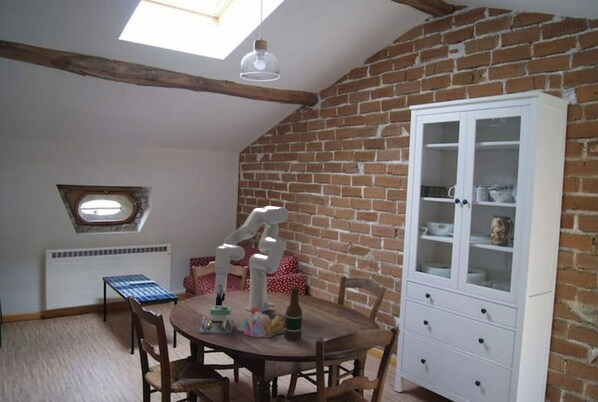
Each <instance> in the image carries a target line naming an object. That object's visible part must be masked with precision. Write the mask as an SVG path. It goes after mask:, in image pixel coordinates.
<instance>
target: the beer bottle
mask: <svg viewBox="0 0 598 402" xmlns="http://www.w3.org/2000/svg"><path fill="white" fill-rule="evenodd" d="M299 291H300V288H299V287H296V286H292V287H291V289H290V300H289V301H290V302H289V305H288V307H287V308H286V310H285V321H284V323H285V324H284V325H285V331H284V338H285V339H286V340H287V341H291V340H292V341H291V342H294V341H299V340H300V339H302V328H303V310H302V307H301V306H300V302H299Z"/></svg>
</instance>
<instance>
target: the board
mask: <svg viewBox="0 0 598 402" xmlns="http://www.w3.org/2000/svg"><path fill="white" fill-rule="evenodd" d="M231 313H232V306H216V305H215V306H212V307H211V308H210V313H209V314H210V315H212V316H213V315H227V314H228V315H229V316H231Z"/></svg>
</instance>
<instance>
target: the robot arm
mask: <svg viewBox="0 0 598 402" xmlns="http://www.w3.org/2000/svg"><path fill="white" fill-rule="evenodd" d="M289 214H290V213H289V210H288V209H287V208H286V207H284V206H274V205H266V206H264V207H263V208H262V207H256V208H254V209H253V210H252V211H251V212H250V214H249V215H248V216H247V218H246V219H245V221H244V223H243V224H242V225H241V227H239V228H237V229H236V230H235V231H233V232H232V233H231V234H229V235H228V236H227V237H226V238H225V240H224V241H223V243H222V244H221V245H219V246H217V247H216V249H215V260H214V262H215V263H214V274H215V283H214V294H216V297H215V306H218V307H223V302H224V301H225V297H226V293H225V292H226V288H227V281H228V275H229V274H230V269H231V267H230V266H231V261H240V260H243V259H244V257H245V255H246V251H245V249H244V248H243V247H242V246H240V245H237V244H238V243H241V242H242V241H245V240H247V239H252V238H253V237H254V236H256V234H257V232H258V231H259V230H260V228H261V226H262V225H264V230H263V232H262V235H261V237H260V239H259V242H258V247H257V248H258V250H259V251H260V252H261V253H254V254H252V255H251V256H250V257H249V261H248V267H249V272H250V273H249V274H250V277H249V278H250V280H249V299H248V302H249V303H248V304H247V306H246V310H247V311H248V312H251V309H252V308H253V307H257V308H258V309H259V312H262V313H265V312H267V311H269V309H270V308H274V306H275V303H272V302H268V300H267V292H268V290H267V289H268V276H267V274H273V273H275V272H276V271H277V270H278V268H279V265H280V263H281V260H282V258H283V256H284V252H285V249H286V248H285V246H286V244H285V241H284V240H283V239H281V238H278V237H279V236H278V235H279V232H280V228H279V224H280V223H285V222H286V221H287V220H288V218H289V216H290V215H289Z"/></svg>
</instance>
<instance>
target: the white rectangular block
mask: <svg viewBox="0 0 598 402" xmlns="http://www.w3.org/2000/svg"><path fill="white" fill-rule="evenodd" d="M229 318H230V315H228V321H229ZM224 320H226V315H213V314H212V322H223V321H224Z"/></svg>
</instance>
